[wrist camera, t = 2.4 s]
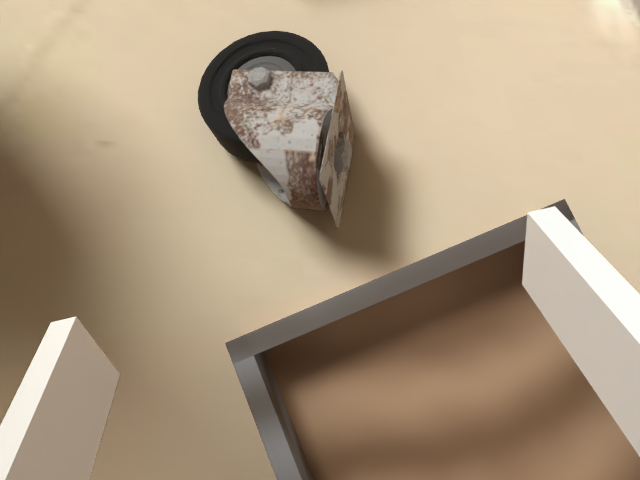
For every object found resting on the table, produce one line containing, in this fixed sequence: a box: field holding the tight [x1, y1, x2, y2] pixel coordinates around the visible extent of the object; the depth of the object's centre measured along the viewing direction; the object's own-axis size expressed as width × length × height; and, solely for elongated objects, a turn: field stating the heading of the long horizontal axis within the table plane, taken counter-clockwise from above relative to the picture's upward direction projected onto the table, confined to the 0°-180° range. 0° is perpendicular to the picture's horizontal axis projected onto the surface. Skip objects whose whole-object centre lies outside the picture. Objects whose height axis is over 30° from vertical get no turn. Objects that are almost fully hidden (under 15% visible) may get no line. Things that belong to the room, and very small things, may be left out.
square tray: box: [225, 199, 640, 480], centre depth 26 cm, size 20×20×4 cm
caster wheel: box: [198, 31, 355, 228], centre depth 29 cm, size 7×11×10 cm
